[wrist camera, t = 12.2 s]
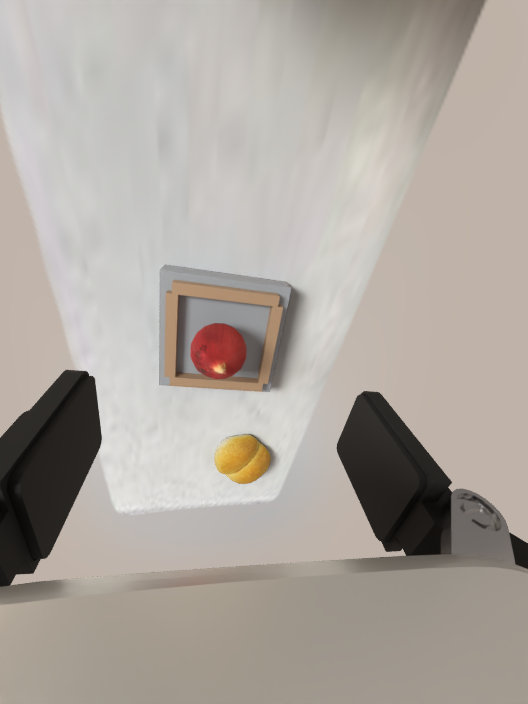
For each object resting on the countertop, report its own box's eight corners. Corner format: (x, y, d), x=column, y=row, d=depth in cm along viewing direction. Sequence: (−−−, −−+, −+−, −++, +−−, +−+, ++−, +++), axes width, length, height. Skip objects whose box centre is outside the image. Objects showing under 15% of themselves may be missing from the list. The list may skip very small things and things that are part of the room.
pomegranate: (205, 365, 34) (201, 405, 27) (184, 323, 32) (174, 356, 24) (250, 349, 34) (258, 385, 27) (233, 306, 31) (236, 334, 24)
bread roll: (241, 423, 43) (243, 442, 40) (276, 453, 47) (280, 472, 44) (202, 451, 45) (200, 472, 41) (238, 478, 49) (240, 499, 45)
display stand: (165, 264, 31) (157, 272, 28) (286, 281, 34) (293, 290, 30) (163, 372, 37) (157, 390, 34) (266, 379, 40) (271, 397, 36)
